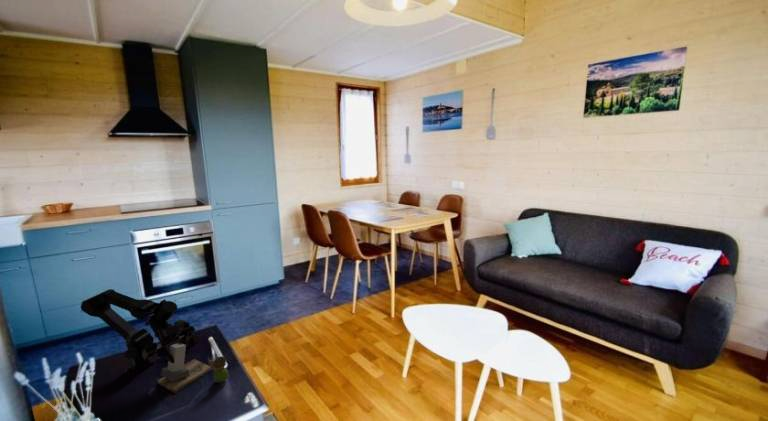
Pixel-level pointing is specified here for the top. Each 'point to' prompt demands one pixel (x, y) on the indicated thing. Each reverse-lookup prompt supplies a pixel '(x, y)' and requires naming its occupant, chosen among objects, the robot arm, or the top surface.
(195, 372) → the oak board
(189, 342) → the door stopper
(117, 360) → the top surface
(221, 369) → the snail figurine
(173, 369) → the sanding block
